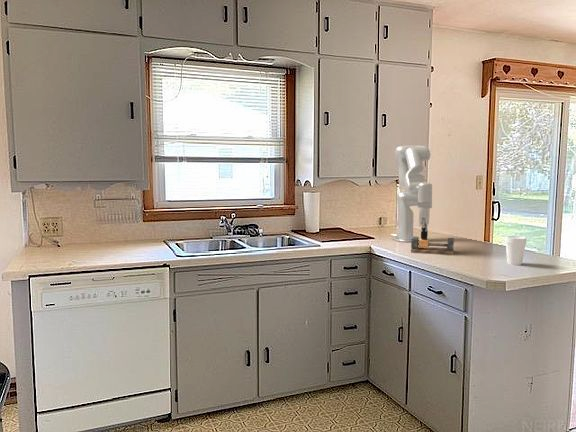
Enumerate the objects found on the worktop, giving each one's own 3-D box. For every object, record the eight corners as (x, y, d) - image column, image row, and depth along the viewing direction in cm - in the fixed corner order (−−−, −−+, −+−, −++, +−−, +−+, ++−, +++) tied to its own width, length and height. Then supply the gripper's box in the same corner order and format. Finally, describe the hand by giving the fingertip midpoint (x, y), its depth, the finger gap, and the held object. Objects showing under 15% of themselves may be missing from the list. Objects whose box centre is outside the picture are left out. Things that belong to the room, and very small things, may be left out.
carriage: (418, 247, 264) (419, 229, 263) (420, 245, 271) (420, 227, 270) (428, 248, 262) (428, 229, 261) (429, 246, 269) (429, 228, 268)
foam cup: (500, 262, 236) (501, 236, 234) (518, 261, 236) (519, 235, 235) (510, 266, 226) (511, 239, 225) (529, 265, 227) (530, 238, 226)
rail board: (410, 252, 264) (411, 239, 263) (413, 248, 275) (413, 235, 274) (452, 254, 256) (453, 240, 255) (453, 250, 267) (453, 237, 266)
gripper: (419, 203, 273) (418, 235, 275) (416, 206, 258) (415, 239, 260) (433, 204, 270) (432, 236, 272) (430, 206, 255) (429, 240, 257)
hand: (424, 237), depth 266 cm, fingers open, 3 cm apart
